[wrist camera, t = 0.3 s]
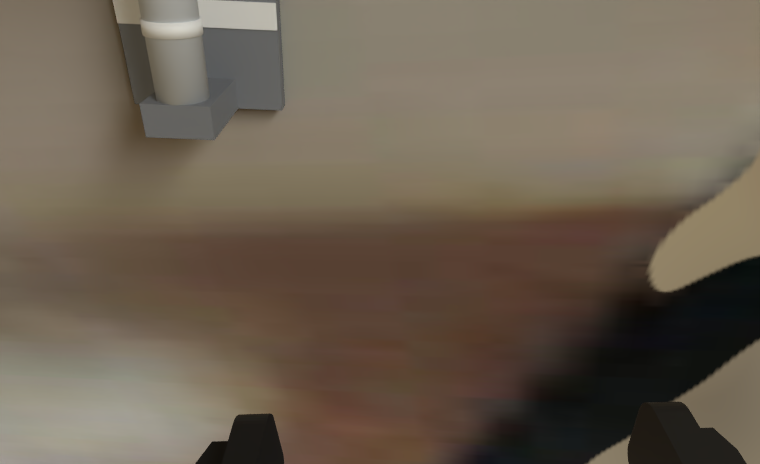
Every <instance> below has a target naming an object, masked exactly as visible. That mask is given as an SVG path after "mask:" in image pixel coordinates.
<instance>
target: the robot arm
mask: <svg viewBox="0 0 760 464" xmlns="http://www.w3.org/2000/svg"><path fill="white" fill-rule="evenodd" d="M628 462H629V464H746V462H745V461H744V459H743V458H742V456H741V454H740V453H739V451H738V450H737V449H736V448H735V447H734V446H733V445H731V444H730V443H729V442H728V441H727V440H726V439H725V438H724V437H723V436H721V435H720V434H719V433H718V432H717V431H716V430H715V429H714V428H700V427H699V425H698V424H697V422H696V420H695V419H694V417H693V415H692V414H691V412H690V411H689V409H688V408H687V406H686V405H685V404H683V403H682V402H654V403H643V404H642V405H641V406H640V409H639V412H638V415H637V419H636V422H635V425H634V428H633V431H632V435H631V438H630V441H629V444H628ZM196 464H284V457H283V452H282V448H281V444H280V440H279V436H278V432H277V428H276V425H275V421H274V417H273V415H272V414H246V415H238V416H236V418H235V420H234V423H233V426H232V429H231V433H230V436H229V440H228V441H218V442H211V444H210V445H209V446H208V448H207V449H206V450H205V452H204V453H203V454H202V456H201V457H200V458H199V460H198V461H197V462H196Z"/></svg>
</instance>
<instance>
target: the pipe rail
mask: <svg viewBox="0 0 760 464" xmlns="http://www.w3.org/2000/svg"><path fill="white" fill-rule="evenodd" d="M113 5H114V9H115V14H116V19H117V23H118V25H119V30H120V35H121V39H122V44H123V49H124V54H125V59H126V64H127V68H128V73H129V78H130V83H131V88H132V92H133V97H134V102H135V104H139V105H140V110H141V115H142V120H143V125H144V130H145V134H146V137H153V138H176V139H200V140H215V139H216V137H217V136H218V135H219V133H220V132H221V131H222V129H223V128H224V127H225V125H226V124H227V123H228V121H229V120H230V119H231V117H232V116H233V115H234V113H235V112H236V111H237V109H261V110H283V108H284V106H285V98H284V79H283V61H282V42H281V24H280V5H279V0H113Z"/></svg>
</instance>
